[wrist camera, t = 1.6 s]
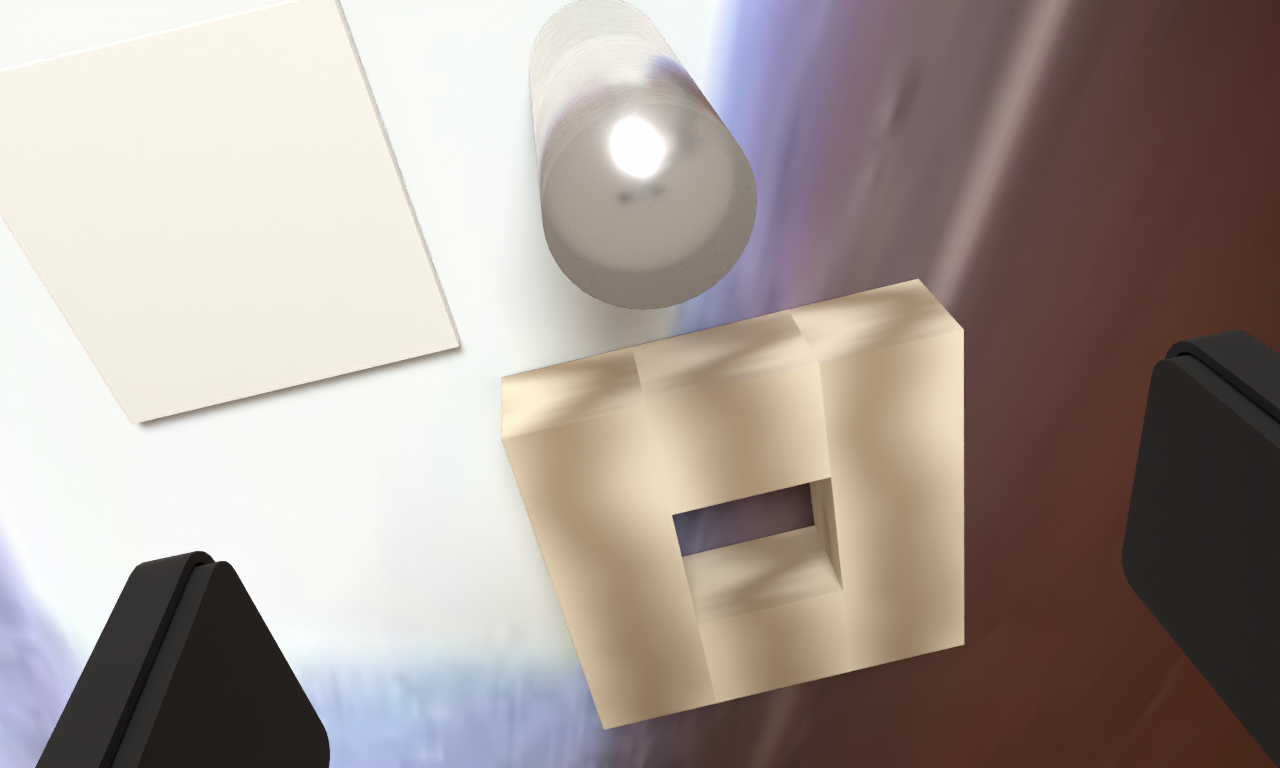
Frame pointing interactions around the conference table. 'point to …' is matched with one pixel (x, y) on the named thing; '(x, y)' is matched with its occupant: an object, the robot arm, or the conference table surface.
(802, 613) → the socket block
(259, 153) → the mat
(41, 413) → the conference table surface
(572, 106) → the steel cylinder
